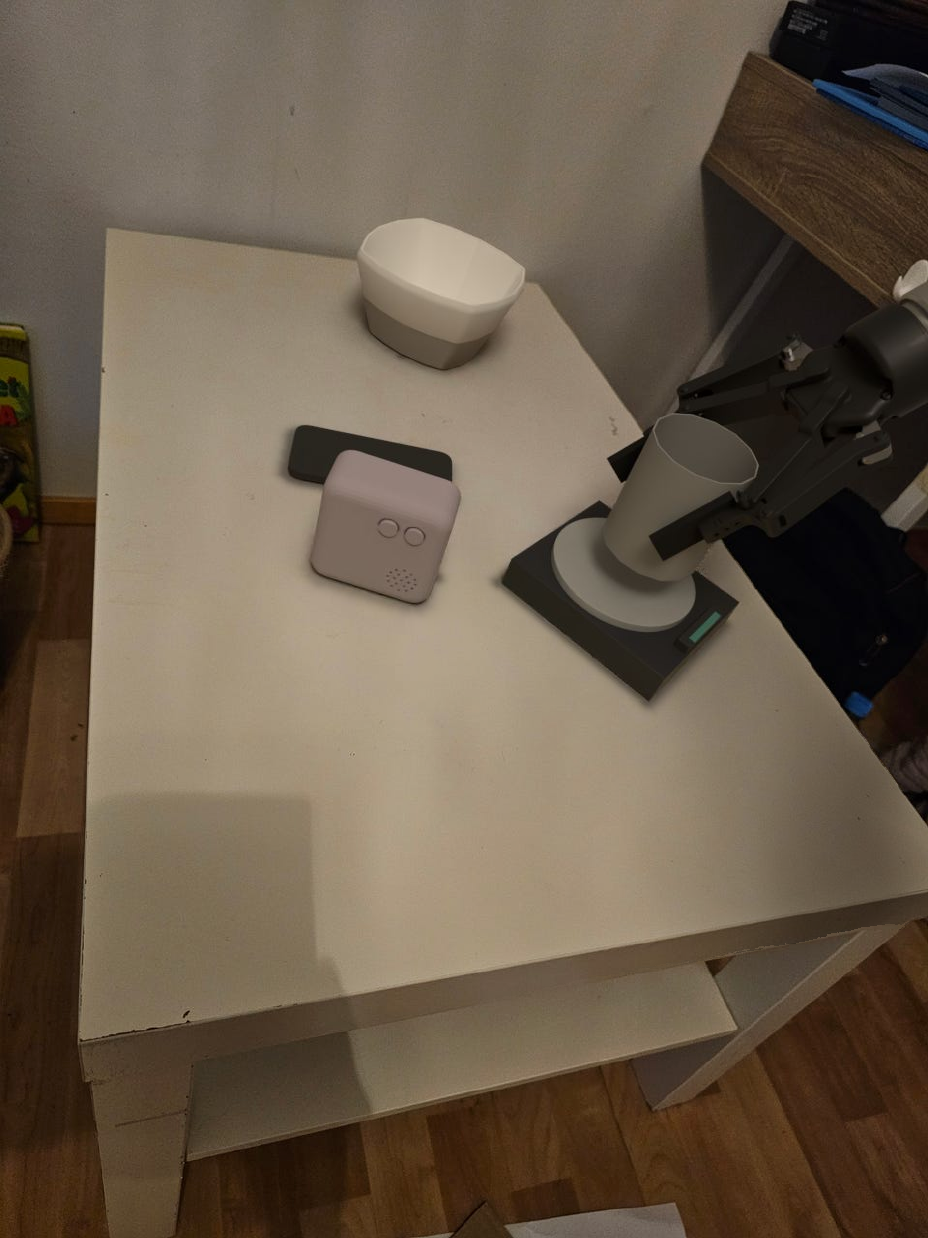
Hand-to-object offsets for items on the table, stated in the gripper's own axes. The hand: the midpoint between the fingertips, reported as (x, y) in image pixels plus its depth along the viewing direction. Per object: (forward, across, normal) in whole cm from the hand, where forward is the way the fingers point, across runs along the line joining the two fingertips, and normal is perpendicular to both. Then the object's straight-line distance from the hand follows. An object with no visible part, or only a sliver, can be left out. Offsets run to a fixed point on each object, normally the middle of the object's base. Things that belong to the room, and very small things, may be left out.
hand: (634, 508), depth 65 cm
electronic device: (+21, +3, +5) cm, 22 cm away
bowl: (+12, +42, -4) cm, 44 cm away
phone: (+19, +17, +3) cm, 26 cm away
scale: (+6, 0, -10) cm, 12 cm away
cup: (+1, 0, -5) cm, 5 cm away
